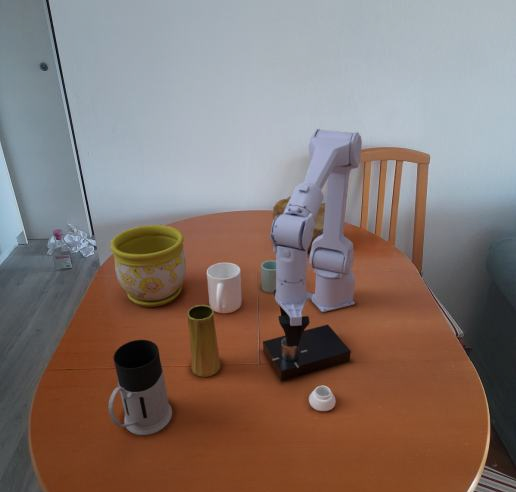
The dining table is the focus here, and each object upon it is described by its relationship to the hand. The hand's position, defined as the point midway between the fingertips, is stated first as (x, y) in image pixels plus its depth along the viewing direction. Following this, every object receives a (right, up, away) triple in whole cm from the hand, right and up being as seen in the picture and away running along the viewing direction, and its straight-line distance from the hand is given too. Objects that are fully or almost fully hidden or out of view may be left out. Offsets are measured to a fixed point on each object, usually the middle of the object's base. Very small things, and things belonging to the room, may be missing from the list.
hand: (290, 333), depth 90 cm
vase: (-18, -8, +4) cm, 20 cm away
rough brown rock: (+10, +20, +53) cm, 58 cm away
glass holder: (-28, -16, -9) cm, 33 cm away
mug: (-15, +2, +23) cm, 27 cm away
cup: (-3, +8, +31) cm, 32 cm away
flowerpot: (-34, +6, +30) cm, 45 cm away
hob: (+4, -6, +6) cm, 10 cm away
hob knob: (0, -5, +2) cm, 5 cm away
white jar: (+6, -13, -5) cm, 15 cm away
